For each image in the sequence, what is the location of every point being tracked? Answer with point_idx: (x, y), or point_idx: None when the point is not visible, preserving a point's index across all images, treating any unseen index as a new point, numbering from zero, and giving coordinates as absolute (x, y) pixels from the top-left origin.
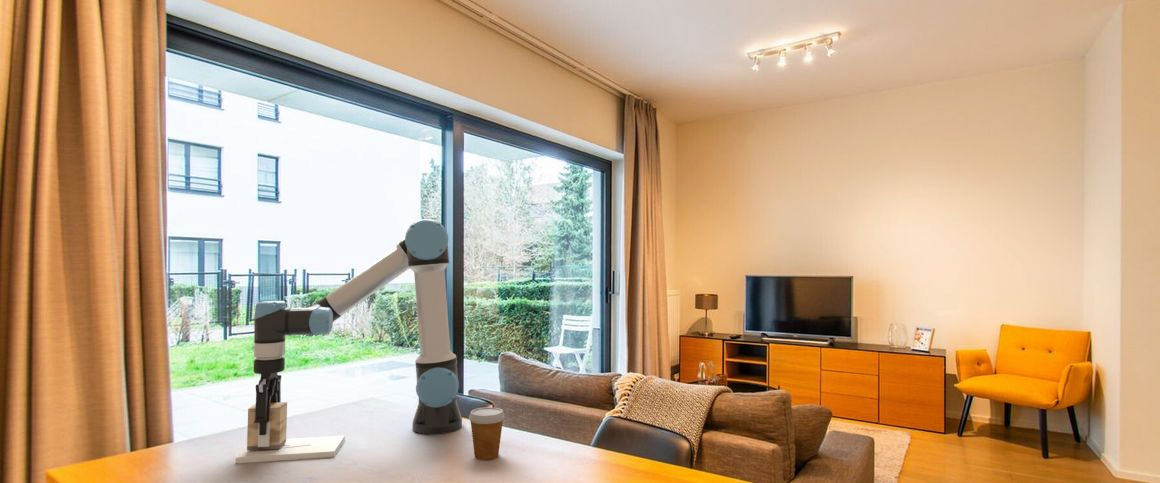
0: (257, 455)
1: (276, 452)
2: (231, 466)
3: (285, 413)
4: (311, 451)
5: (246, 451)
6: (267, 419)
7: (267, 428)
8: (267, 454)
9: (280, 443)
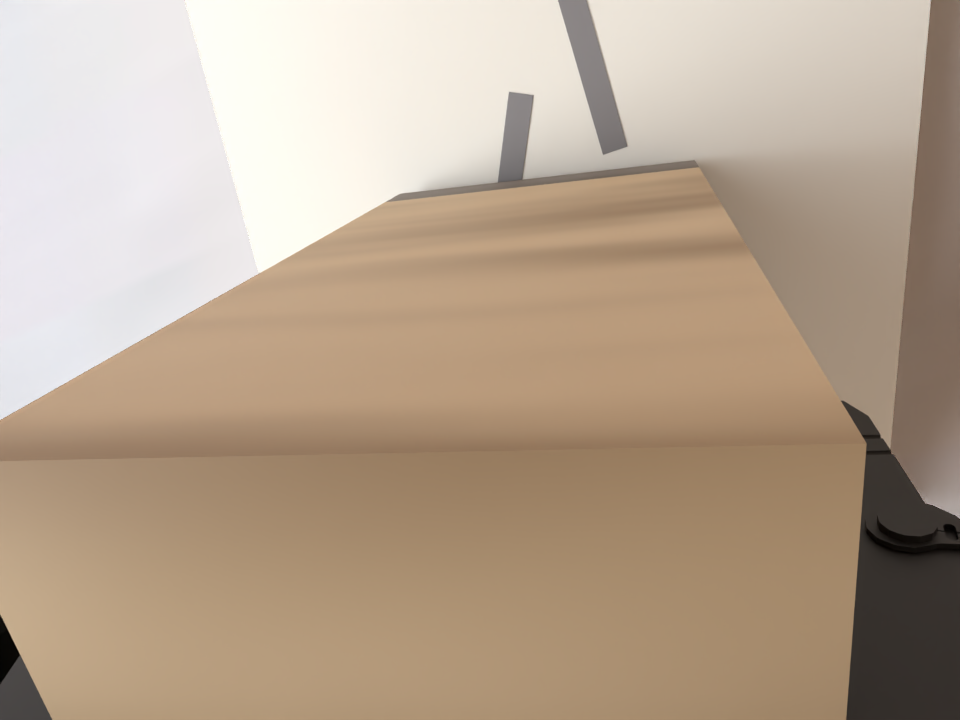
0: (871, 348)
1: (793, 154)
2: (952, 513)
3: (281, 317)
4: None
5: None
6: (957, 550)
7: None
8: (860, 241)
9: (652, 172)
